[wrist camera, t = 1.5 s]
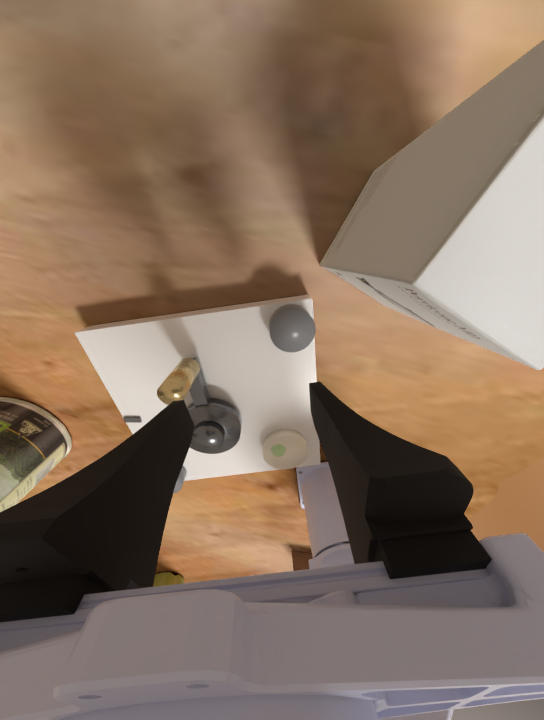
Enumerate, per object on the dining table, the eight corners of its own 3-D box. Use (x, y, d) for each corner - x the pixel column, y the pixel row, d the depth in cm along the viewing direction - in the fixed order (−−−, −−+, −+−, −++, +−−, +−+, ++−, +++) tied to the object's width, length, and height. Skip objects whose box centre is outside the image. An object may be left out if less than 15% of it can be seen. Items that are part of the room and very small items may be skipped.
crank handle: (246, 438, 23) (242, 482, 19) (193, 445, 23) (176, 490, 19) (223, 348, 18) (210, 377, 14) (156, 357, 19) (122, 389, 14)
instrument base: (316, 450, 28) (324, 479, 24) (167, 469, 28) (154, 499, 25) (307, 294, 19) (317, 302, 15) (91, 325, 19) (53, 340, 16)
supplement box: (315, 266, 18) (405, 282, 7) (373, 167, 15) (701, -101, 4) (381, 307, 20) (541, 377, 8) (443, 226, 17) (809, 164, 6)
